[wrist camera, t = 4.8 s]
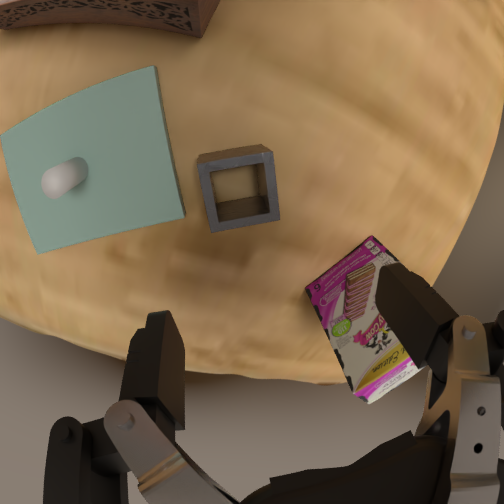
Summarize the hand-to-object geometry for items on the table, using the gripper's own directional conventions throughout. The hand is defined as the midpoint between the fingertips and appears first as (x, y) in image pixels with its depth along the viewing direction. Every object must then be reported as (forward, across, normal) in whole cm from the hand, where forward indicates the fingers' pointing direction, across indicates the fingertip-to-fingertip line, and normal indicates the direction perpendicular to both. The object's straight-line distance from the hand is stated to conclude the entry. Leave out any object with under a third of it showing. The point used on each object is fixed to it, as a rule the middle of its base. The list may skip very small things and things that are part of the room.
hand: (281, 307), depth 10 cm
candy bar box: (+19, -12, +14) cm, 27 cm away
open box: (+19, 0, 0) cm, 19 cm away
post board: (+19, +15, -5) cm, 25 cm away
